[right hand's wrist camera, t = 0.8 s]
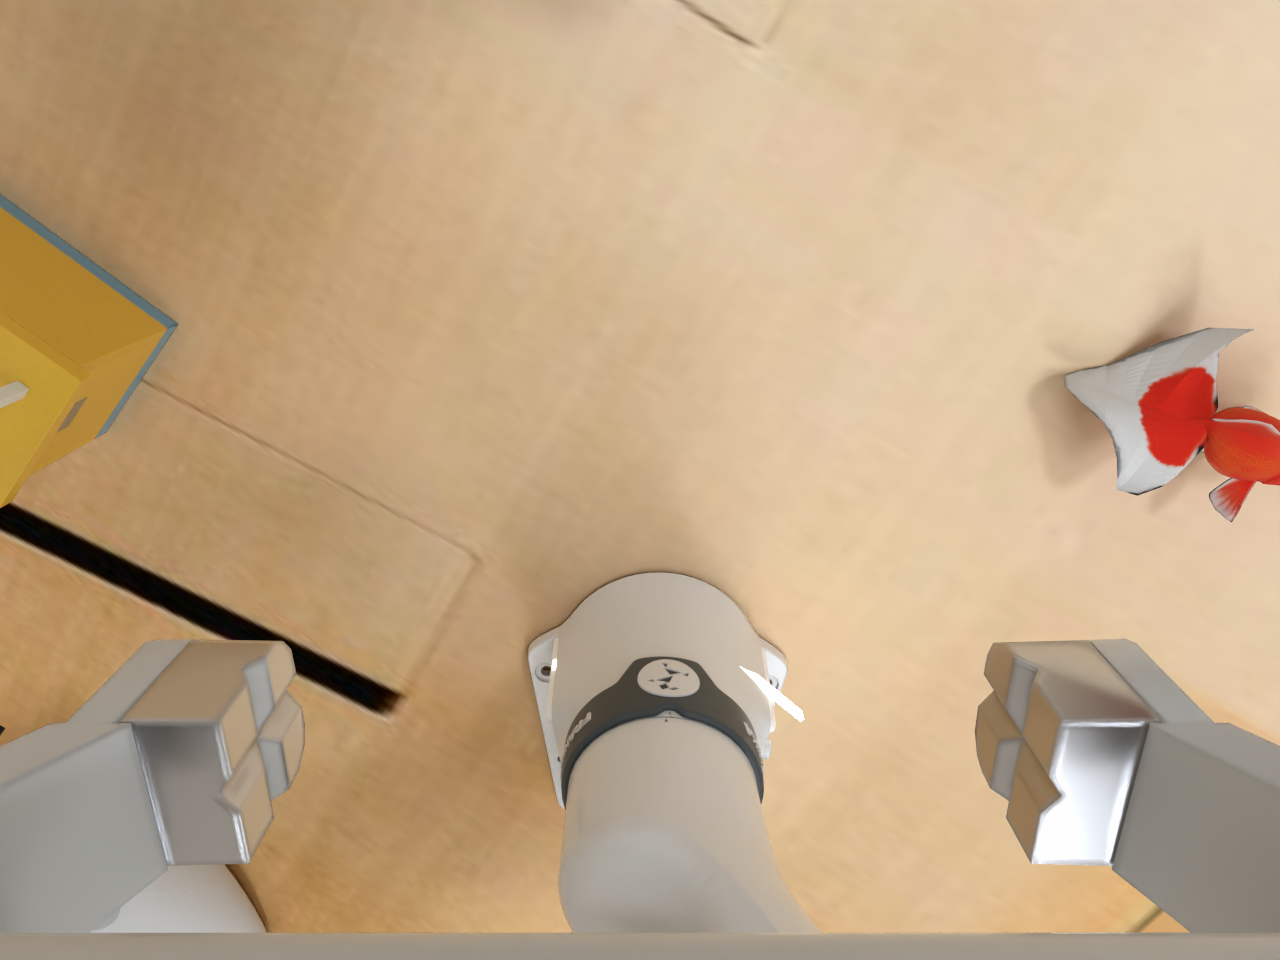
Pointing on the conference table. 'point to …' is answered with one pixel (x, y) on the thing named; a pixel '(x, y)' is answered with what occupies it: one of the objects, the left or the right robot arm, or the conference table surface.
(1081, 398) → the fish
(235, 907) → the white rounded slotted block
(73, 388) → the lid
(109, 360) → the chest
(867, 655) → the conference table surface
